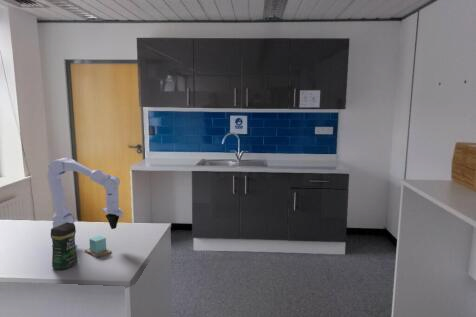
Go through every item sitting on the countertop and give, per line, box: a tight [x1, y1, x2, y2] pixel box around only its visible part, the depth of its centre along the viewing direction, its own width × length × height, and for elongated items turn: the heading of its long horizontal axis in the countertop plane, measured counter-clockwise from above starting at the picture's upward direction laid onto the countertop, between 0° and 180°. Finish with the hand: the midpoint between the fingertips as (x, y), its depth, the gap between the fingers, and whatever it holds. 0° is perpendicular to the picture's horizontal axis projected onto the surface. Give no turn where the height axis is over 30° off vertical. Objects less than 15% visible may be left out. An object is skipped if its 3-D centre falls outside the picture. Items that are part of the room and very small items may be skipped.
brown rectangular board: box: [84, 247, 112, 259], centre depth 155 cm, size 11×7×5 cm, turn 54°
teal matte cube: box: [89, 235, 107, 254], centre depth 155 cm, size 5×5×6 cm
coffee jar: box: [50, 222, 78, 271], centre depth 141 cm, size 10×8×19 cm
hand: (113, 228), depth 160 cm, fingers closed
